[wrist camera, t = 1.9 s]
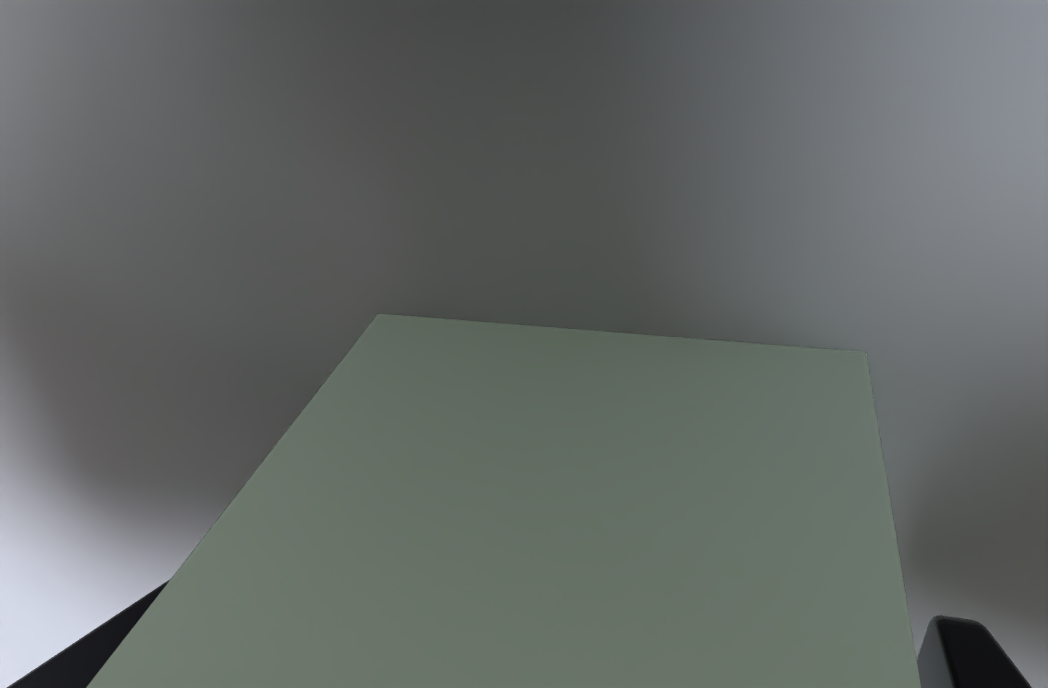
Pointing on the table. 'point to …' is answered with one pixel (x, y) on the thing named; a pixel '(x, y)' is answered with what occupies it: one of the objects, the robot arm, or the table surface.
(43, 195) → the table surface
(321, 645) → the painted cube
